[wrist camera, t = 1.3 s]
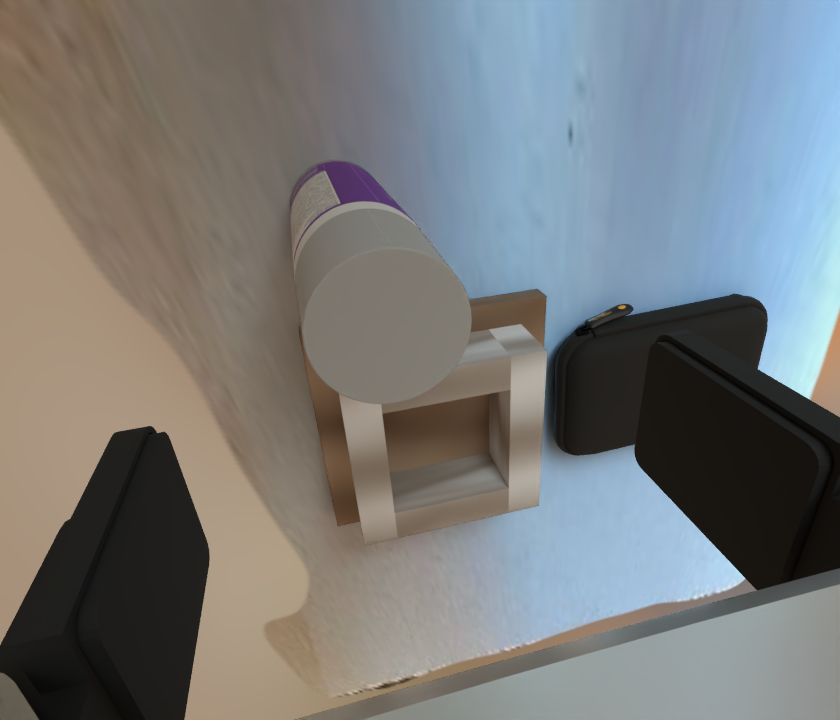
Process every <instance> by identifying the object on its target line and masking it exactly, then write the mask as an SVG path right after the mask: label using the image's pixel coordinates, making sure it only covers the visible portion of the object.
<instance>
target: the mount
mask: <svg viewBox="0 0 840 720" xmlns="http://www.w3.org/2000/svg"><path fill="white" fill-rule="evenodd" d="M469 303H470V308H471V318H472V323H471V332H470V337H469V340H468V344H467V347H466V349H465V351H464V354H463V355H462V357H461V359H460V361H459V362H458V364H457V365H456V367H455V368H454V369H453V370H452V372H451V373H450V374H449V375H448V376H447V377H446V378H445V379H444V380H443V381H442V382H440V383H439V384H438V385H437V386H435V387H434V388H432V389H431V390H429V391H427V392H426V393H424V394H422V395H420V396H417V397H415V398H412V399H409V400H406V401H402V402H397V403H390V404H371V403H365V402H360V401H356V400H353V399H350V398H348V397H345V396H343V395H341V394H339V393H338V392H336V391H334V390H333V389H332V388H330V387H329V386H328V385H327V384H325V383H324V382H323V381H322V380H321V378H320V377H319V376H318V375H317V374H316V372H315V371H314V369H313V368H312V366H311V364H310V362H309V360H308V358H307V355H306V352H305V349H304V345H303V338H302V331H301V326H299V335H300V340H301V345H302V350H303V355H304V360H305V365H306V370H307V375H308V380H309V385H310V390H311V395H312V400H313V405H314V410H315V415H316V420H317V425H318V430H319V435H320V440H321V445H322V450H323V455H324V460H325V465H326V470H327V475H328V480H329V485H330V490H331V495H332V500H333V505H334V510H335V515H336V520H337V525H338V526H341V525H345V524H350V523H354V522H359V521H360V522H361V527H362V533H363V539H364V544H365V545H369V544H373V543H378V542H382V541H387V540H391V539H395V538H400V537H404V536H409V535H413V534H417V533H422V532H426V531H430V530H435V529H439V528H444V527H448V526H452V525H457V524H461V523H465V522H470V521H474V520H479V519H483V518H487V517H492V516H496V515H501V514H505V513H509V512H514V511H518V510H522V509H527V508H531V507H536V506H539V492H540V474H541V455H542V437H543V419H544V400H545V382H546V364H547V350H546V349H545V348H544V334H545V315H546V295H544V294H543V293H542V292H541V291H539V290H538V289H535V290H528V291H522V292H515V293H509V294H503V295H496V296H490V297H483V298H477V299H470V300H469Z"/></svg>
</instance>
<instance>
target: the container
mask: <svg viewBox="0 0 840 720" xmlns="http://www.w3.org/2000/svg"><path fill="white" fill-rule="evenodd" d="M290 217H291V236H292V255H293V274H294V282H295V288H296V295H297V302H298V310H299V317H300V324H301V331H302V338H303V345H304V349H305V352H306V355H307V358H308V360H309V362H310V364H311V366H312V368H313V369H314V371H315V372H316V374H317V375H318V376H319V377H320V378H321V380H322V381H323V382H324V383H325V384H327V385H328V386H329V387H330V388H332V389H333V390H334V391H336V392H338V393H339V394H341V395H343V396H345V397H348V398H350V399H353V400H356V401H360V402H365V403H371V404H390V403H397V402H402V401H406V400H409V399H412V398H415V397H417V396H420V395H422V394H424V393H426V392H427V391H429V390H431V389H432V388H434V387H435V386H437V385H438V384H439V383H440V382H442V381H443V380H444V379H445V378H446V377H447V376H448V375H449V374H450V373H451V372H452V370H453V369H454V368H455V367H456V365H457V364H458V362H459V361H460V359H461V357H462V355H463V354H464V351H465V349H466V347H467V344H468V340H469V337H470V332H471V323H472V318H471V308H470V303H469V299H468V296H467V293H466V291H465V289H464V287H463V285H462V283H461V282H460V280H459V279H458V277H457V276H456V275H455V273H454V272H453V271H452V270H451V268H450V267H449V266H448V265H447V263H446V262H445V261H444V259H443V258H442V257H441V256H440V254H439V253H438V252H437V251H436V249H435V248H434V247H433V245H432V244H431V243H430V242H429V240H428V239H427V238H426V237H425V235H424V234H423V233H422V231H421V230H420V228H419V227H418V226H417V225H416V223H415V222H414V221H413V220H412V219H411V218H410V217H409V216H408V215H407V214H406V213H405V212H404V210H403V209H402V208H401V207H400V206H399V205H398V204H397V203H396V202H395V201H394V200H393V199H392V198H391V197H390V195H389V194H388V193H387V192H386V191H385V190H384V189H383V188H382V187H381V186H380V185H379V184H378V183H377V182H376V180H375V179H374V178H373V177H372V176H371V175H370V174H369V173H368V172H366V171H365V170H364V169H363V168H361V167H359V166H358V165H356V164H353V163H351V162H347V161H342V160H329V161H324V162H321V163H318V164H316V165H314V166H312V167H311V168H309V169H308V170H307V171H305V172H304V173H303V174H302V175H301V177H300V178H299V179H298V181H297V182H296V184H295V186H294V189H293V191H292V195H291V201H290Z"/></svg>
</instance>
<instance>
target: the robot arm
mask: <svg viewBox="0 0 840 720" xmlns="http://www.w3.org/2000/svg"><path fill="white" fill-rule="evenodd" d="M635 457H636V461H637V463H638V465H639V466H640V467H641V468H642V470H643V471H644V472H645V473H646V474H647V475H648V476H649V477H650V478H651V479H652V480H653V481H654V482H655V483H656V484H657V485H658V486H659V487H660V489H661V490H662V491H663V492H664V493H665V494H666V495H667V496H668V497H669V498H670V499H671V500H672V501H673V502H674V503H675V504H676V505H677V506H678V507H679V509H680V510H681V511H682V512H683V513H684V514H685V515H686V516H687V517H688V518H689V519H690V520H691V521H692V522H693V523H694V524H695V525H696V526H697V528H698V529H699V530H700V531H701V532H702V533H703V534H704V535H705V536H706V537H707V538H708V539H709V540H710V541H711V542H712V543H713V544H714V545H715V547H716V548H717V549H718V550H719V551H720V552H721V553H722V554H723V555H724V556H725V557H726V558H727V559H728V560H729V561H730V562H731V563H732V564H733V566H734V567H735V568H736V569H737V570H738V571H739V572H740V573H741V574H742V575H743V576H744V577H745V578H746V579H747V580H748V581H749V582H750V583H751V584H752V586H753V587H754V588H755V589H756V590H757V591H754V592H750V593H746V594H742V595H739V596H736V597H731V598H728V599H724V600H721V601H717V602H713V603H709V604H705V605H702V606H698V607H694V608H691V609H687V610H684V611H680V612H677V613H673V614H669V615H666V616H662V617H658V618H655V619H651V620H647V621H644V622H640V623H636V624H633V625H629V626H625V627H622V628H618V629H615V630H611V631H607V632H604V633H600V634H597V635H593V636H589V637H586V638H582V639H578V640H575V641H572V642H568V643H564V644H561V645H557V646H553V647H550V648H546V649H543V650H539V651H535V652H532V653H528V654H524V655H521V656H517V657H514V658H510V659H506V660H503V661H499V662H496V663H492V664H489V665H485V666H482V667H478V668H474V669H471V670H467V671H464V672H460V673H457V674H453V675H450V676H447V677H443V678H439V679H436V680H432V681H429V682H425V683H422V684H418V685H414V686H411V687H407V688H404V689H400V690H397V691H393V692H390V693H386V694H382V695H379V696H375V697H372V698H368V699H365V700H361V701H358V702H354V703H351V704H348V705H344V706H340V707H337V708H333V709H330V710H326V711H323V712H319V713H315V714H312V715H309V716H305V717H302V718H299V719H295V720H840V417H838V416H836V415H835V414H833V413H831V412H829V411H828V410H826V409H824V408H823V407H821V406H819V405H817V404H816V403H814V402H812V401H811V400H809V399H807V398H806V397H804V396H802V395H800V394H799V393H797V392H795V391H794V390H792V389H790V388H789V387H787V386H785V385H783V384H782V383H780V382H778V381H777V380H775V379H773V378H772V377H770V376H768V375H766V374H765V373H763V372H761V371H760V370H758V369H756V368H754V367H753V366H751V365H749V364H748V363H746V362H744V361H743V360H741V359H739V358H737V357H736V356H734V355H732V354H731V353H729V352H727V351H725V350H724V349H722V348H720V347H719V346H717V345H715V344H714V343H712V342H710V341H708V340H707V339H705V338H703V337H702V336H700V335H698V334H697V333H695V332H693V331H690V330H687V331H681V332H675V333H669V334H664V335H661V336H659V337H658V338H657V340H656V342H655V343H654V344H653V345H651V347H650V349H649V354H648V361H647V368H646V375H645V381H644V388H643V395H642V402H641V409H640V415H639V422H638V429H637V436H636V443H635ZM208 568H209V548H208V543H207V540H206V537H205V534H204V532H203V529H202V526H201V523H200V521H199V518H198V515H197V512H196V510H195V507H194V504H193V502H192V499H191V496H190V493H189V491H188V488H187V485H186V482H185V479H184V477H183V474H182V472H181V468H180V466H179V463H178V460H177V457H176V455H175V452H174V449H173V447H172V444H171V441H170V439H169V436H168V435H167V433H165V432H161V433H157V432H156V430H155V429H154V428H153V427H151V426H148V427H143V428H137V429H131V430H126V431H120V432H116V433H114V434H113V435H112V437H111V439H110V441H109V443H108V445H107V447H106V449H105V451H104V453H103V455H102V457H101V459H100V461H99V463H98V465H97V467H96V469H95V471H94V473H93V475H92V477H91V479H90V481H89V483H88V485H87V487H86V489H85V491H84V493H83V495H82V497H81V499H80V501H79V503H78V505H77V507H76V509H75V511H74V513H73V515H72V517H71V519H69V520H68V521H66V522H65V523H64V524H63V526H62V527H61V529H60V530H59V532H58V534H57V536H56V538H55V540H54V542H53V544H52V546H51V548H50V550H49V551H48V554H47V555H46V557H45V559H44V561H43V563H42V566H41V567H40V569H39V571H38V573H37V575H36V577H35V579H34V581H33V583H32V585H31V586H30V589H29V590H28V592H27V594H26V596H25V598H24V600H23V602H22V604H21V606H20V608H19V610H18V612H17V614H16V616H15V618H14V620H13V622H12V624H11V626H10V627H9V629H8V631H7V633H6V636H5V637H4V639H3V641H2V643H1V645H0V720H184V718H185V712H186V705H187V699H188V692H189V687H190V680H191V674H192V668H193V661H194V655H195V649H196V642H197V637H198V630H199V623H200V617H201V611H202V604H203V599H204V593H205V586H206V579H207V574H208Z"/></svg>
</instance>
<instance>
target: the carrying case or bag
mask: <svg viewBox="0 0 840 720" xmlns="http://www.w3.org/2000/svg"><path fill="white" fill-rule="evenodd" d="M632 311H633V307H632V306H631V305H629V304H621V305H617V306H615V307H613V308H611V309H609V310H607V311H605V312H603V313H601V314H599V315H597V316H595V317H593V318H591V319H588V320H586V321H585V325H582V326H580V327H579V328H577V329H576V330H575V331H574V333H573V334H572V335H571V336H570V337H568V338H567V339H566V340H565V342H564V343H563V344H562V346H561V347H560V349H559V351H558V353H557V356H556V363H555V401H554V440H555V442H556V444H557V445H558V446H559V448H560V449H561V450H563V451H564V452H566V453H569V454H572V455H589V454H596V453H600V452H604V451H609V450H613V449H617V448H621V447H625V446H630V445H634V444H635V443H636V436H637V429H638V422H639V415H640V409H641V402H642V395H643V388H644V381H645V375H646V368H647V361H648V354H649V349H650V347H651V345H653V344H654V343H655V342H656V340H657V338H658V337H659V336H661V335H664V334H669V333H675V332H681V331H687V330H690V331H693V332H695V333H697V334H698V335H700V336H702V337H703V338H705V339H707V340H708V341H710V342H712V343H714V344H715V345H717V346H719V347H720V348H722V349H724V350H725V351H727V352H729V353H731V354H732V355H734V356H736V357H737V358H739V359H741V360H743V361H744V362H746V363H748V364H749V365H751V366H753V367H754V368H756V369H758V365H759V361H760V357H761V352H762V348H763V344H764V340H765V336H766V332H767V321H768V319H767V312H766V309H765V307H764V306H763V304H762V303H761V302H760V301H758V300H757V299H755V298H753V297H750V296H742V295H739V294H732V295H729V296H725V297H720V298H715V299H710V300H705V301H700V302H695V303H690V304H685V305H680V306H675V307H670V308H665V309H660V310H655V311H650V312H645V313H640V314H635V315H630V316H626V315H628V314H630V313H631V312H632ZM624 316H625V317H624Z"/></svg>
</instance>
